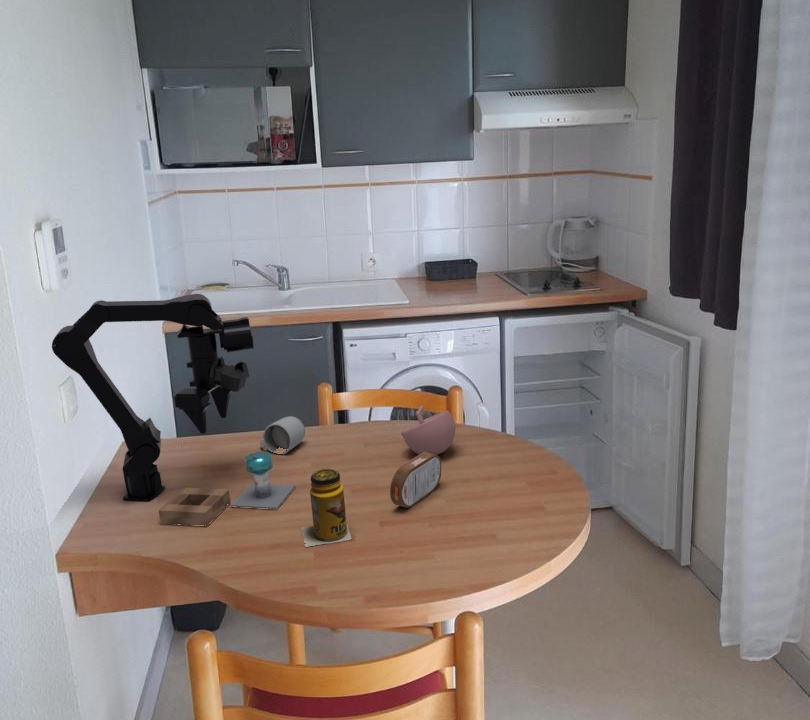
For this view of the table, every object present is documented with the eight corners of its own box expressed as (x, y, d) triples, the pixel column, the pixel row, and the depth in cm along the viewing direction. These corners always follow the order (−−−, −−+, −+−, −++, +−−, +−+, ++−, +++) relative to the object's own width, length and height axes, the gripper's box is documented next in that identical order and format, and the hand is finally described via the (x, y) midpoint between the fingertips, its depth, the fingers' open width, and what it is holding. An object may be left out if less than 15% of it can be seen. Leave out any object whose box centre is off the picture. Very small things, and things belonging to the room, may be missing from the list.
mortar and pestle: (423, 440, 178) (420, 394, 175) (466, 449, 171) (464, 402, 168) (393, 458, 169) (389, 410, 166) (437, 468, 162) (434, 419, 159)
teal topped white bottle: (270, 501, 151) (264, 462, 148) (246, 500, 152) (240, 461, 149) (280, 489, 155) (275, 451, 153) (257, 488, 157) (251, 451, 154)
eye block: (160, 524, 145) (158, 510, 144) (186, 500, 155) (184, 487, 154) (207, 527, 143) (205, 512, 142) (230, 503, 152) (228, 489, 151)
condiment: (352, 540, 135) (346, 479, 131) (305, 548, 133) (298, 486, 130) (346, 521, 142) (340, 463, 138) (301, 529, 140) (294, 470, 137)
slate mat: (230, 507, 150) (230, 505, 150) (251, 486, 160) (251, 483, 159) (277, 510, 148) (276, 507, 148) (295, 488, 157) (295, 485, 157)
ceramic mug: (309, 443, 181) (305, 413, 179) (292, 456, 174) (288, 425, 172) (271, 440, 185) (267, 411, 183) (253, 453, 178) (249, 423, 176)
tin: (432, 482, 156) (430, 444, 153) (445, 485, 154) (443, 447, 152) (390, 512, 144) (386, 472, 142) (403, 516, 142) (400, 475, 140)
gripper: (218, 368, 145) (228, 443, 149) (258, 343, 162) (266, 411, 166) (166, 368, 147) (178, 441, 152) (211, 343, 165) (220, 410, 169)
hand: (213, 425), depth 160 cm, fingers open, 9 cm apart
